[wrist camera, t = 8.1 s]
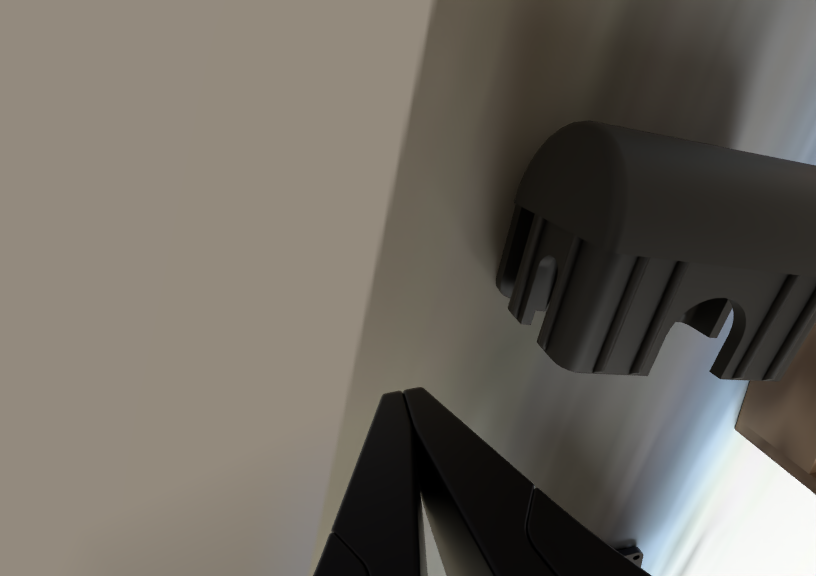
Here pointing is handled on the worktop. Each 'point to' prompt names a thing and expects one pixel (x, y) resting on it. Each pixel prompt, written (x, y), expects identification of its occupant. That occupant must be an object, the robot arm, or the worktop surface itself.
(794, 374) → the brown wooden open frame
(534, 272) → the end cap
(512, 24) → the worktop surface
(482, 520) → the robot arm
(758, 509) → the worktop surface
